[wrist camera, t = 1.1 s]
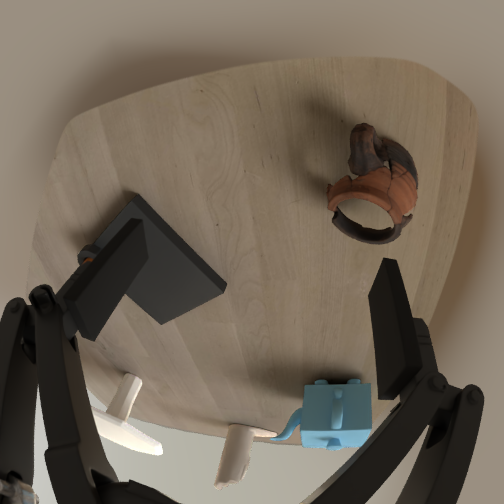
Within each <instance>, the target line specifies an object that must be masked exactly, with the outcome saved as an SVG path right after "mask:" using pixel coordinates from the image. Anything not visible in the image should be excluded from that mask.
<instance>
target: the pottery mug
mask: <svg viewBox="0 0 504 504" xmlns="http://www.w3.org/2000/svg"><path fill="white" fill-rule="evenodd" d="M350 150H351V155H350V158H349V160H348V164H349V167H350V171H351V172H352V173H353V174H355V175H359V176H358V177H357V178H356V179H354V180H352V179H351V177H350V176H349V175H346V176H345V177H343V178H342V179H340V180H339V181H338V182H336V183H335V185H334V186H332V185H331V184H328V187H327V197H328V201H329V203H328V210H331V211H334V216H333V218H332V223H333V224H334V225H335V226H336V227H337V228H338V229H339V230H340V231H341V232H343V233H344V234H346V235H347V236H349V237H351V238H354V239H356V240H358V241H361V242H365V243H369V244H385V243H389V242H391V241H394V240H395V239H397V238H398V237H399V236H400V233H401V230H402V228H404V227H405V226H406V225H407V224H408V223H409V222H410V221H411V219H412V216H413V215H412V214H410V215H409V216H404V214H405V213H408V212H409V211H410V210H411V209H412V208H413V207H415V205H416V201H417V198H418V197H417V191H416V190H417V189H418V188H417V187H418V174H417V170H416V168H415V164H414V161H413V158H412V157H411V155H410V154H409V152H408V151H407V150H406V149H405V148H404V147H402V146H401V145H400V144H398V143H396V142H394V141H391V140H388V139H385V138H383V140H382V142H381V141H380V140H379V139H378V137H377V135H376V131H375V128H374V127H373V126H371V125H369V124H367V123H362V124H357V125H356V126H355V127H354V128H353V129H352V131H351V135H350ZM384 161H388V162H389V167H390V170H389V169H388V168H387V167H386V166H384V165H383V164H384ZM351 198H358V199H364V200H367V201H370V202H373V203H375V204H377V205H378V206H380V207H382V208H383V209H384V210H386V211H387V212H388V214H389V215H390V216H391V218H392V220H393V222H394V227H393V229H392V228H391V227H388V228H386V229H383V230H376V229H372V228H364V227H362V225H360V224H358V223H356V222H354V221H352V220H350V219H349V218H347V217H346V216H345V215H344V214H343V213H342V212H341V210H340V209H339V208H338V206H337V205H338V203H340V202H341V201H343V200H346V199H351Z"/></svg>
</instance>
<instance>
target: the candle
mask: <svg viewBox="0 0 504 504" xmlns="http://www.w3.org/2000/svg"><path fill="white" fill-rule="evenodd" d="M254 436H261V437H270V436H271V437H276V436H277V433H275V432H270V431H268V430H265V429H261V428H256V427H251V426H245V425H240V424H232V425H230V426H229V430H228V434H227V438H226V441H225V446H224V449H223V453H222V457H221V460H220V464H219V468H218V472H217V475H216V480H215V483H214V486H215V487H216V488H217V489H219V490H222V486H225V487H227V486H228V485H229V484H237V483H238V482H239V481H242V480H243V478H244V476H245V473H246V471H247V469H248V466H249V461H250V451H251V447H252V443H253V438H254Z"/></svg>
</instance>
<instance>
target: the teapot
mask: <svg viewBox="0 0 504 504" xmlns="http://www.w3.org/2000/svg"><path fill="white" fill-rule="evenodd" d="M360 382H361V381H360V380H359V379H351V380H349V381H348V382H347V384H342V385H328V382H327V381H326V380H317V381H315V385H305V389H304V398H303V407H302V408H299V409H298V410H296V411H295V412H294V413H293V414H292V416H291V417H290V419H289V421H288V423H287V425H286V427H285V429H284V431H283V432H282V433H281V434H280V435H278V436H276V437H273V438H271V439H270V440H275V441H282V440H285V439H287V438H288V437H289V436H290V435H291V434H292V432H293V430H294V429H295V427H296V426H297V425H299V424H300V434H301V440H302V447H307V448H308V447H309V448H326V449H328V450H339V449H341V448H345V447H361V446H362V445H363V444H364V443H365V442H366V440H367V438H368V435H369V433H370V431H371V429H372V409H371V383H366V384H360Z"/></svg>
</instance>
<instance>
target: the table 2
mask: <svg viewBox="0 0 504 504" xmlns="http://www.w3.org/2000/svg"><path fill="white" fill-rule="evenodd" d="M141 385H142V380H141V379H140V378H138V377H137V376H135V375H133V374H130V373H126V374H125V375H124V377H123V379H122V381H121V384H120V386H119V388H118V390H117V393H116V395H115V397H114V398H113V400H112V402H111V403H110V405H109V407H108V409H107V411H106V413H105V412H103V411H101V410H99V409H97V408H95V407H92V406H91V409H92V413H93V416H94V420H95V423H96V427H97V430H98V434H99V435H101V436H103V437H105V438H107V439H109V440H111V441H113V442H116V443H118V444H120V445H122V446H125V447H127V448H129V449H132V450H134V451H139V452H144V453H148V454H153V455H160V454H162V453H163V451H162V447H161V444H160V443H159V442H157V441H156V440H154V439H152V438H150V437H148V436H147V435H145V434H144V433H142V432H140V431H139V430H137V429H136V428H134V427H132V426H131V425H129V424H128V423H126V422H127V419H128V417H129V414H130V411H131V407H132V404H133V402H134V400H135V398H136V396H137V394H138V392H139V390H140V387H141Z"/></svg>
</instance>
